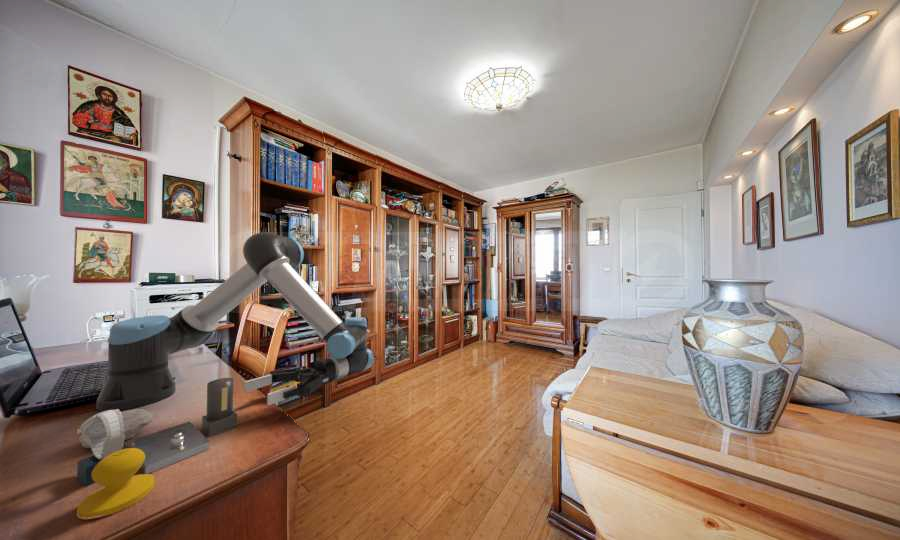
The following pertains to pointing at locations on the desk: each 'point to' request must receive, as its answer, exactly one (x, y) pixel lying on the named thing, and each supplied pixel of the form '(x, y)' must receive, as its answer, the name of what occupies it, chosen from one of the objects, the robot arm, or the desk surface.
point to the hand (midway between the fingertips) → (255, 392)
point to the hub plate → (170, 446)
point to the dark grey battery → (219, 407)
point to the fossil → (128, 424)
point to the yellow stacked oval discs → (117, 483)
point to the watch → (95, 432)
